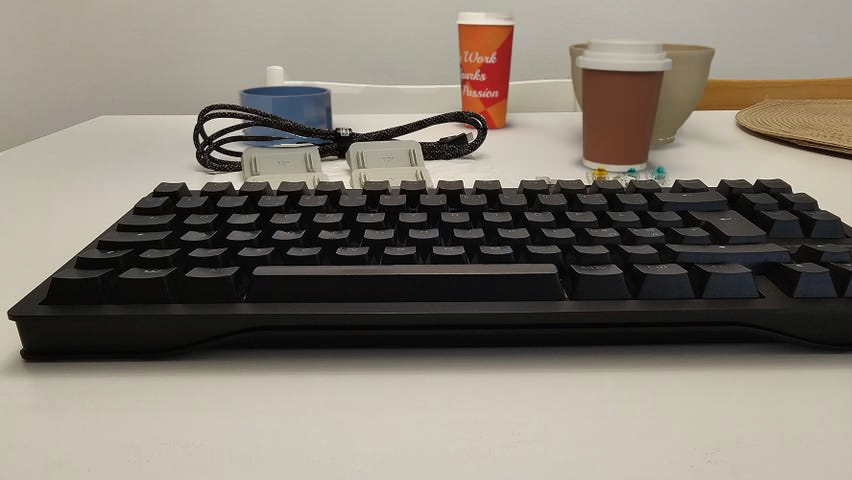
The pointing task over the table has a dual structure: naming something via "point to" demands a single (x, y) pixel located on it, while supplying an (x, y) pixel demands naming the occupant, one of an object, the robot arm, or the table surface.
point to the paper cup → (485, 64)
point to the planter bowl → (667, 86)
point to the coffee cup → (620, 101)
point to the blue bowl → (289, 110)
